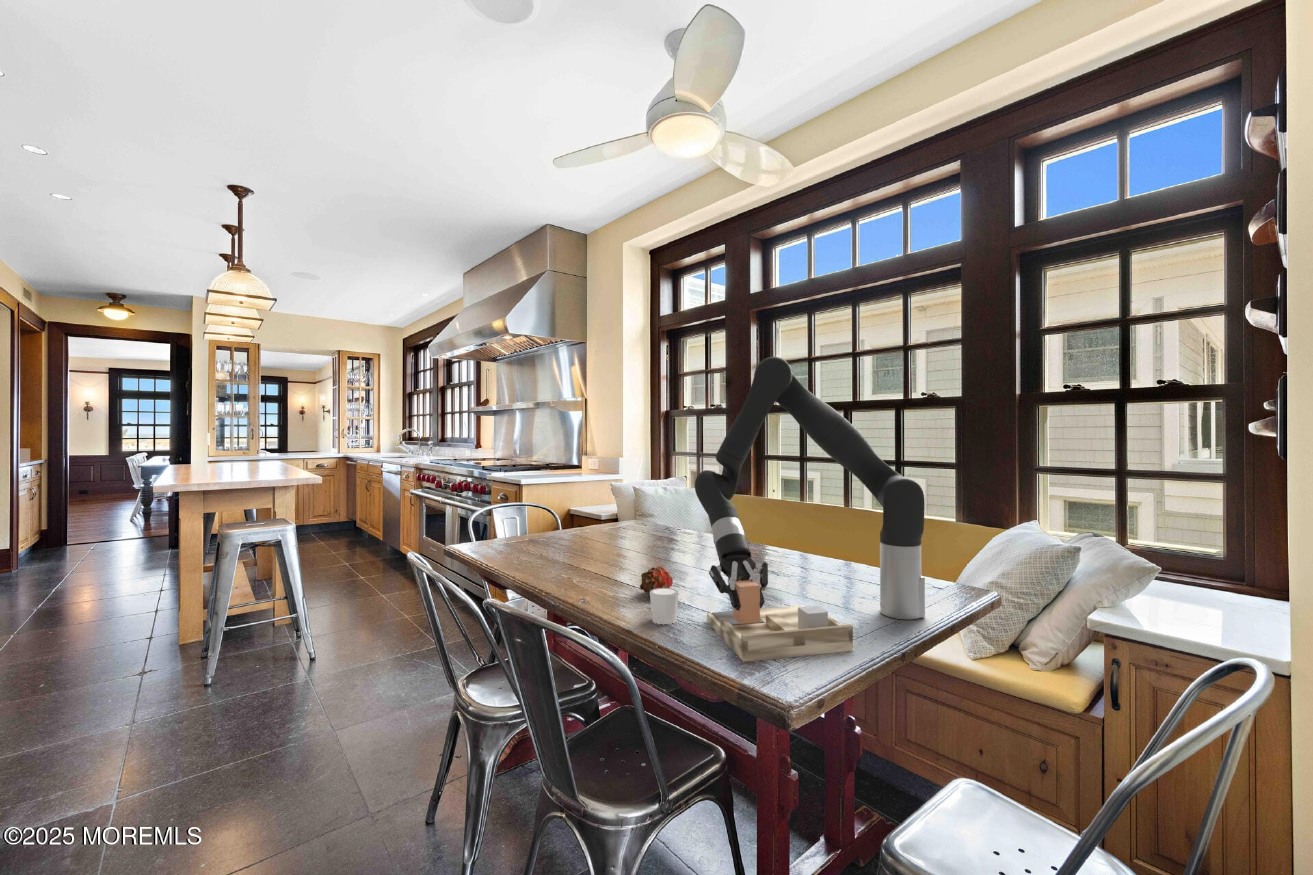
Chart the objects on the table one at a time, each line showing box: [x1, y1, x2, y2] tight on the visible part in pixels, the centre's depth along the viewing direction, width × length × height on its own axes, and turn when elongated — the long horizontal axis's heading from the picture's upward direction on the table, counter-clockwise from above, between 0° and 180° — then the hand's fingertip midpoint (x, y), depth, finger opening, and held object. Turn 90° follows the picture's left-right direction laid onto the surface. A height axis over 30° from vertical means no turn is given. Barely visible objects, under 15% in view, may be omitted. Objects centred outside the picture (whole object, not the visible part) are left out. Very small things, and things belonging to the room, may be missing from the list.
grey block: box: [798, 605, 829, 629], centre depth 122 cm, size 4×4×5 cm
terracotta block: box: [732, 580, 760, 624], centre depth 126 cm, size 4×4×8 cm
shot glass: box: [649, 587, 680, 626], centre depth 137 cm, size 7×7×7 cm
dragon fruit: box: [639, 565, 673, 596], centre depth 158 cm, size 8×8×12 cm
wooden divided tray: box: [706, 605, 854, 663], centre depth 126 cm, size 24×24×5 cm
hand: (749, 607), depth 124 cm, fingers closed on terracotta block, 4 cm apart
